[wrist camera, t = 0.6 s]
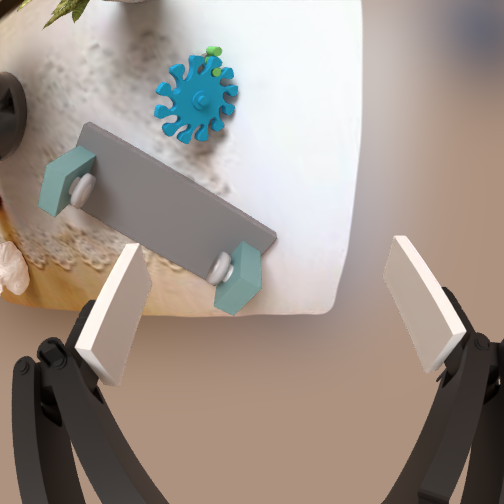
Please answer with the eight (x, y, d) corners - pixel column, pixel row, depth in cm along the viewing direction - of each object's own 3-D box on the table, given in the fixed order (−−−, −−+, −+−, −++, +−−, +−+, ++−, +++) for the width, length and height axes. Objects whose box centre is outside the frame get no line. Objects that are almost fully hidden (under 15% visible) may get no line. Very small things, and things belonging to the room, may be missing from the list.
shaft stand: (63, 190, 35) (29, 220, 28) (87, 120, 29) (47, 138, 22) (231, 286, 45) (227, 330, 38) (278, 234, 40) (284, 276, 32)
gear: (220, 151, 31) (146, 138, 23) (192, 137, 34) (124, 125, 26) (257, 66, 27) (189, 31, 19) (224, 60, 29) (160, 33, 22)
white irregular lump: (11, 228, 41) (-28, 254, 34) (15, 240, 37) (-29, 270, 30) (32, 275, 48) (-4, 299, 41) (39, 290, 44) (0, 318, 37)
